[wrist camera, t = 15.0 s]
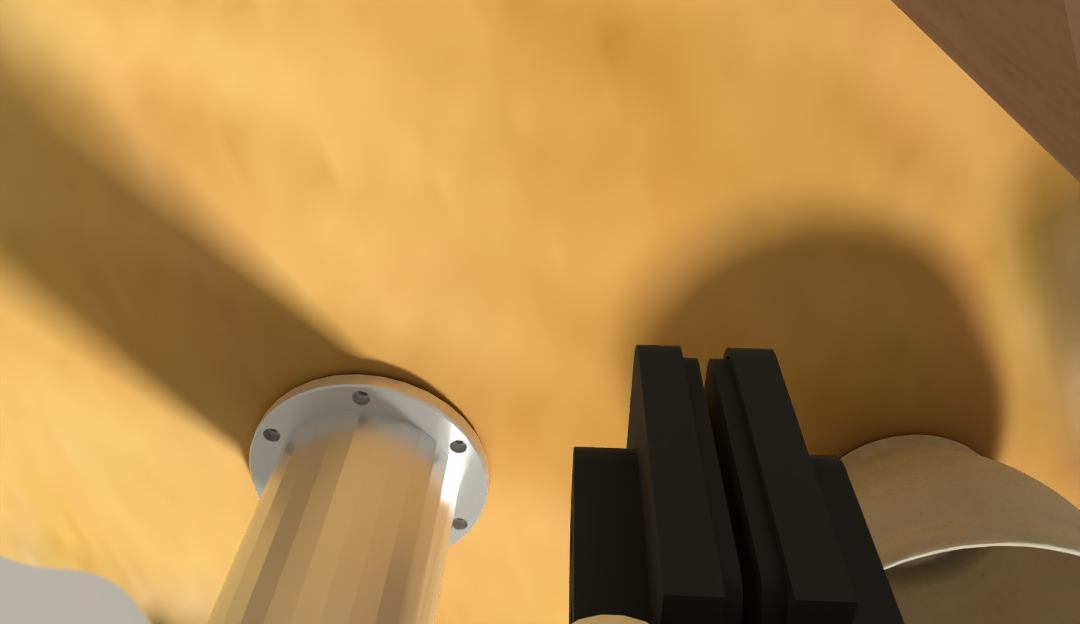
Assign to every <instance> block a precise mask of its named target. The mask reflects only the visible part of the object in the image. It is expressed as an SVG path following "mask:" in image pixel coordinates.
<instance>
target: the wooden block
mask: <svg viewBox="0 0 1080 624" xmlns="http://www.w3.org/2000/svg"><path fill="white" fill-rule="evenodd" d="M891 1H892V2H893V3H894V4H895V5H896V6H897V7H898V8H900V9H901V10H902V11H903V12H904V13H905V14H906V15H907V16H908V17H909V18H910V19H911V20H912V21H913V22H914V23H915V24H916V25H917V26H918V27H919V28H920V29H921V30H922V31H923V32H924V33H925V34H926V35H927V36H928V37H929V38H930V39H931V40H933V41H934V42H935V43H936V44H937V45H938V46H939V47H940V48H941V49H942V50H943V51H944V52H945V53H946V54H947V55H948V56H949V57H950V58H951V59H952V60H953V61H954V62H955V63H956V64H957V65H958V66H959V67H960V68H961V69H962V70H963V71H965V72H966V73H967V74H968V75H969V76H970V77H971V78H972V79H973V80H974V81H975V82H976V83H977V84H978V85H979V86H980V87H981V88H982V89H983V90H984V91H985V92H986V93H987V94H988V95H989V96H990V97H991V98H992V99H993V100H994V101H995V102H997V103H998V104H999V105H1000V106H1001V107H1002V108H1003V109H1004V110H1005V111H1006V112H1007V113H1008V114H1009V115H1010V116H1011V117H1012V118H1013V119H1014V120H1015V121H1016V122H1017V123H1018V124H1019V125H1020V126H1021V127H1022V128H1023V129H1024V130H1025V131H1026V132H1027V133H1028V134H1030V135H1031V136H1032V137H1033V138H1034V139H1035V140H1036V141H1037V142H1038V143H1039V144H1040V145H1041V146H1042V147H1043V148H1044V149H1045V150H1046V151H1047V152H1048V153H1049V154H1050V155H1051V156H1052V157H1053V158H1054V159H1055V160H1056V161H1057V162H1058V163H1059V164H1060V165H1062V166H1063V167H1064V168H1065V169H1066V170H1067V171H1068V172H1069V173H1070V174H1071V175H1072V176H1073V177H1074V178H1075V179H1076V180H1077V181H1078V182H1079V183H1080V0H891Z"/></svg>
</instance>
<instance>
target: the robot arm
mask: <svg viewBox="0 0 1080 624" xmlns="http://www.w3.org/2000/svg"><path fill="white" fill-rule="evenodd" d="M249 467H250V473H251V478H252V482H253V484H254V486H255V489H256V491H257V493H258V496H259V497H260V500H259V503H258V505H257V507H256V510H255V512H254V514H253V517H252V519H251V521H250V524H249V526H248V528H247V531H246V533H245V535H244V538H243V540H242V542H241V545H240V547H239V549H238V552H237V554H236V556H235V559H234V561H233V563H232V566H231V568H230V570H229V573H228V575H227V577H226V580H225V582H224V585H223V587H222V589H221V592H220V594H219V596H218V599H217V601H216V603H215V606H214V608H213V610H212V613H211V615H210V617H209V620H208V622H207V624H435V620H436V614H437V609H438V603H439V597H440V592H441V586H442V580H443V575H444V569H445V563H446V558H447V552H448V547H450V546H452V545H454V544H455V543H457V542H458V541H459V540H460V539H462V538H463V537H464V536H465V535H466V534H468V533H469V532H470V531H471V529H472V528H473V527H474V525H475V524H476V523H477V521H478V520H479V519H480V516H481V514H482V512H483V509H484V507H485V505H486V500H487V494H488V488H489V465H488V461H487V457H486V453H485V450H484V448H483V446H482V444H481V442H480V440H479V438H478V436H477V434H476V433H475V431H474V430H473V429H472V428H471V426H470V425H469V424H468V423H467V421H466V420H465V419H464V418H463V417H462V416H461V415H460V414H459V413H457V412H456V411H455V410H454V409H453V408H452V407H451V406H449V405H448V404H447V403H445V402H444V401H442V400H440V399H439V398H437V397H436V396H434V395H432V394H431V393H429V392H427V391H425V390H422V389H420V388H418V387H415V386H413V385H410V384H408V383H406V382H402V381H398V380H394V379H390V378H386V377H382V376H372V375H362V374H351V375H334V376H330V377H325V378H321V379H316V380H312V381H310V382H307V383H305V384H303V385H300V386H298V387H296V388H293V389H292V390H290V391H289V392H288V393H286V394H285V395H283V396H282V397H280V398H279V399H278V400H277V401H276V402H275V403H274V404H273V405H272V406H271V407H270V408H269V409H268V411H267V412H266V413H265V414H264V416H263V418H262V420H261V422H260V424H259V426H258V428H257V430H256V432H255V435H254V437H253V440H252V443H251V446H250V455H249ZM569 624H905V623H904V621H903V618H902V615H901V613H900V610H899V608H898V605H897V602H896V600H895V597H894V594H893V592H892V589H891V586H890V584H889V581H888V579H887V576H886V573H885V571H884V568H883V565H882V563H881V560H880V557H879V555H878V552H877V550H876V547H875V544H874V542H873V539H872V536H871V534H870V531H869V528H868V526H867V523H866V521H865V518H864V515H863V513H862V510H861V507H860V505H859V502H858V499H857V497H856V494H855V492H854V489H853V486H852V484H851V481H850V478H849V476H848V473H847V470H846V468H845V466H844V464H843V462H842V460H841V459H840V458H838V457H837V456H825V455H809V454H808V451H807V448H806V445H805V442H804V439H803V436H802V433H801V430H800V427H799V424H798V421H797V418H796V415H795V412H794V409H793V406H792V403H791V400H790V397H789V394H788V391H787V388H786V385H785V382H784V379H783V376H782V373H781V370H780V367H779V364H778V361H777V358H776V355H775V353H774V351H773V350H772V349H752V348H727V349H726V351H725V354H724V358H723V359H710V360H709V362H708V366H707V373H706V380H705V388H704V387H703V382H702V377H701V372H700V367H699V362H698V359H697V358H683V355H682V350H681V347H680V346H660V345H636V348H635V355H634V365H633V377H632V389H631V401H630V413H629V425H628V437H627V449H624V448H595V447H574V452H573V471H572V493H571V521H570V577H569Z"/></svg>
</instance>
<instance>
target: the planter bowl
mask: <svg viewBox="0 0 1080 624" xmlns="http://www.w3.org/2000/svg"><path fill="white" fill-rule="evenodd" d="M840 459H841V460H842V462H843V464H844V466H845V468H846V470H847V473H848V476H849V478H850V481H851V484H852V486H853V489H854V492H855V494H856V497H857V499H858V502H859V505H860V507H861V510H862V513H863V515H864V518H865V521H866V523H867V526H868V528H869V531H870V534H871V536H872V539H873V542H874V544H875V547H876V550H877V552H878V555H879V557H880V560H881V563H882V565H883V568H884V571H885V573H886V576H887V579H888V581H889V584H890V586H891V589H892V592H893V594H894V597H895V600H896V602H897V605H898V608H899V610H900V613H901V615H902V618H903V621H904V623H905V624H1080V510H1078V509H1077V508H1076V507H1075V506H1074V505H1073V504H1071V503H1070V502H1069V501H1067V500H1066V499H1065V498H1064V497H1062V496H1061V495H1059V494H1058V493H1057V492H1055V491H1054V490H1052V489H1051V488H1049V487H1048V486H1046V485H1044V484H1043V483H1041V482H1039V481H1038V480H1036V479H1034V478H1032V477H1030V476H1029V475H1027V474H1025V473H1022V472H1020V471H1018V470H1016V469H1014V468H1012V467H1010V466H1007V465H1005V464H1002V463H1000V462H997V461H995V460H992V459H989V458H986V457H982V456H980V455H979V454H978V453H976V452H975V451H973V450H972V449H970V448H969V447H967V446H965V445H963V444H961V443H959V442H956V441H953V440H950V439H947V438H942V437H938V436H931V435H903V436H894V437H889V438H884V439H881V440H877V441H874V442H871V443H868V444H866V445H863V446H861V447H859V448H857V449H855V450H853V451H851V452H849V453H848V454H846V455H845V456H843V457H842V458H840Z"/></svg>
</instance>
